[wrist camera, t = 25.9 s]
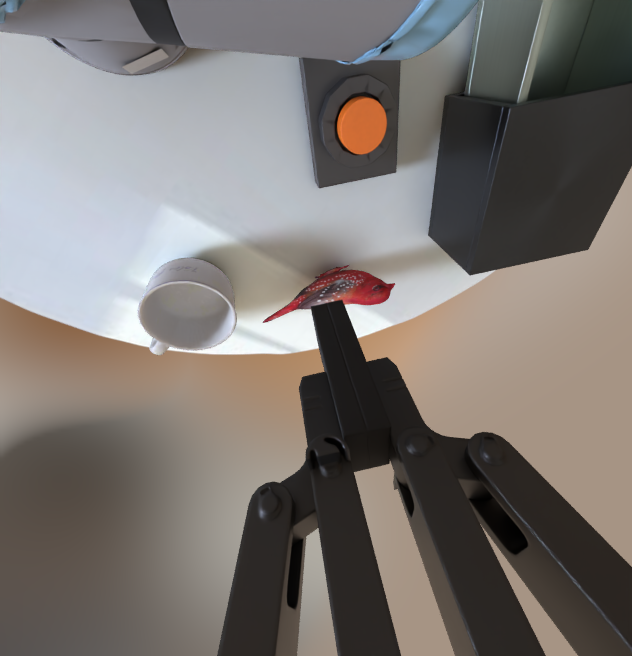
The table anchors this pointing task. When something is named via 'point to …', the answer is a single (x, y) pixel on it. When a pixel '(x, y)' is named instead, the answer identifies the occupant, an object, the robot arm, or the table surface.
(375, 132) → the button
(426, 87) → the table surface
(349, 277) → the decorative bird figurine
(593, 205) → the cabinet
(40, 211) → the table surface
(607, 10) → the drawer
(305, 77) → the block
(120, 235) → the table surface
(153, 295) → the teacup
